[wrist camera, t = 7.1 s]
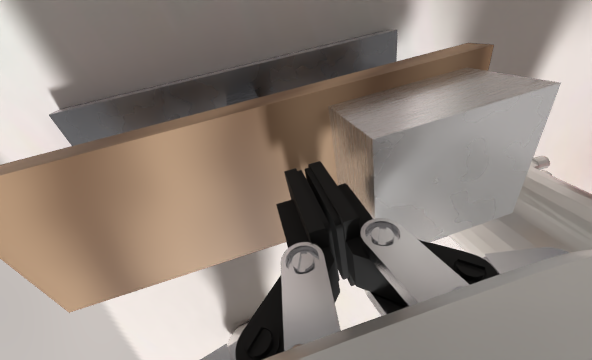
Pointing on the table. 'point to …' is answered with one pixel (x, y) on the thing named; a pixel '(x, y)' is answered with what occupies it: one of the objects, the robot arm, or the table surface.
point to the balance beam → (180, 186)
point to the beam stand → (223, 88)
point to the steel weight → (442, 148)
